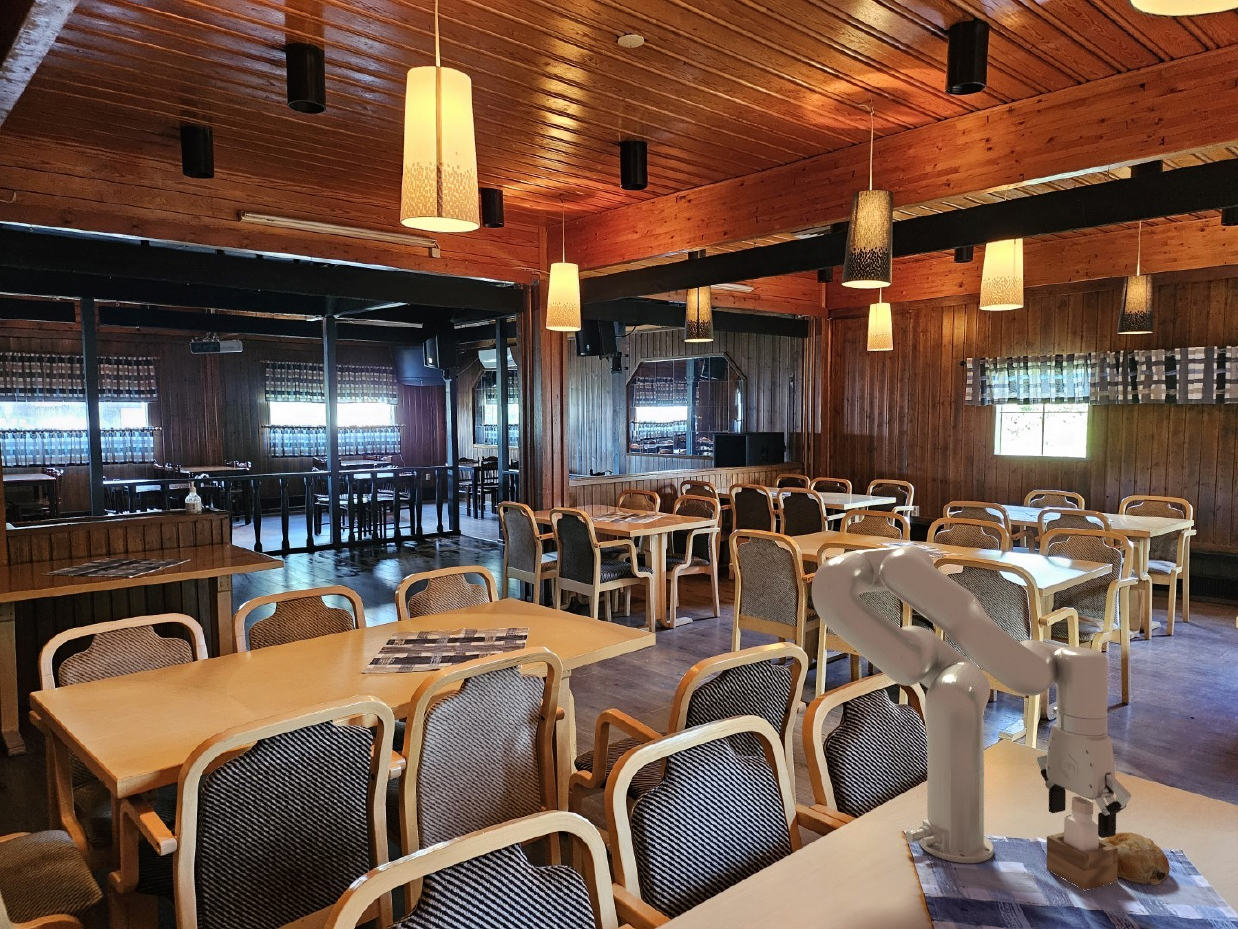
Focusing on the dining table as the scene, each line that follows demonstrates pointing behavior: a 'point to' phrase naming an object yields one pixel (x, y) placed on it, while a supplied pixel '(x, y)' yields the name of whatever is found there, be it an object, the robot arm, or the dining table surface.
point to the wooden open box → (1082, 863)
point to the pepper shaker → (1081, 826)
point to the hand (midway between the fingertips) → (1081, 823)
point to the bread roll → (1139, 859)
